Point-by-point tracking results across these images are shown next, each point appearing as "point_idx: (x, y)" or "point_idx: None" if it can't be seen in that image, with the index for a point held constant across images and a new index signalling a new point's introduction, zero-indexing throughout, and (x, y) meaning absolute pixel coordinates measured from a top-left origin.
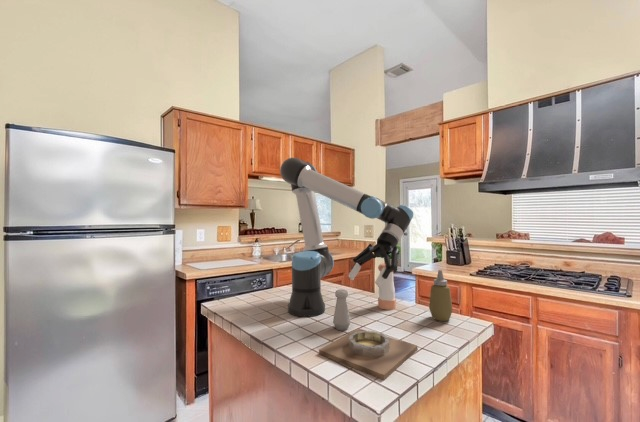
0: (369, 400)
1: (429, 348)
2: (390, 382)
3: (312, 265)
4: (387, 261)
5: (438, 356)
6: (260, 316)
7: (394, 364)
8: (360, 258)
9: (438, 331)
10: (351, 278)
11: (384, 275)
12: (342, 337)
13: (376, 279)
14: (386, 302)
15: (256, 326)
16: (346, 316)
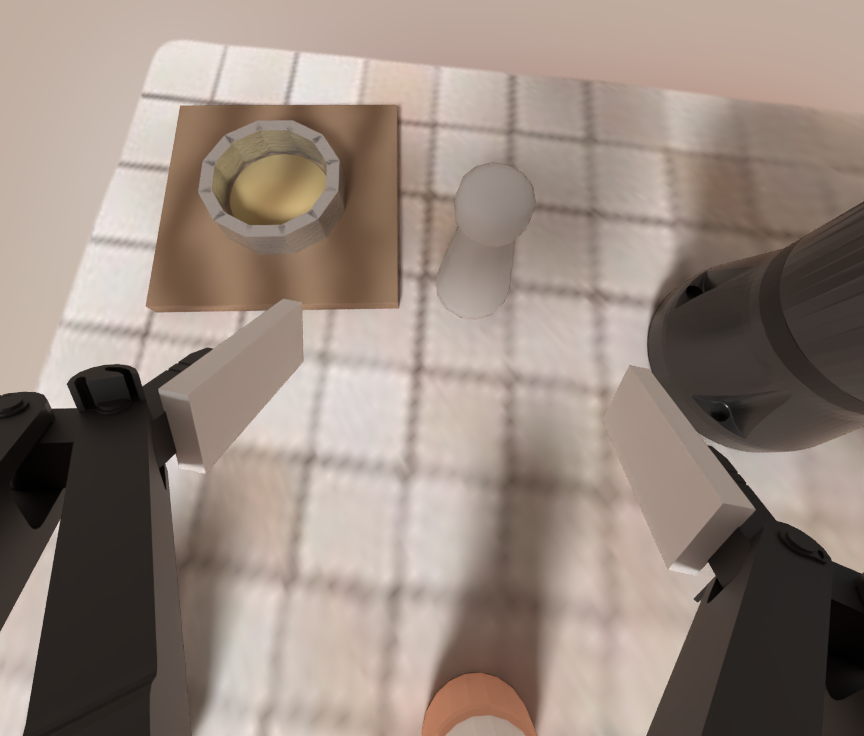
0: (188, 49)
1: (121, 348)
2: (172, 119)
3: None
4: (77, 490)
5: (84, 311)
6: (792, 190)
7: (174, 159)
8: (798, 613)
9: None
10: (615, 401)
11: (200, 352)
12: (393, 203)
13: (286, 313)
14: (455, 707)
15: (703, 128)
16: (443, 261)
